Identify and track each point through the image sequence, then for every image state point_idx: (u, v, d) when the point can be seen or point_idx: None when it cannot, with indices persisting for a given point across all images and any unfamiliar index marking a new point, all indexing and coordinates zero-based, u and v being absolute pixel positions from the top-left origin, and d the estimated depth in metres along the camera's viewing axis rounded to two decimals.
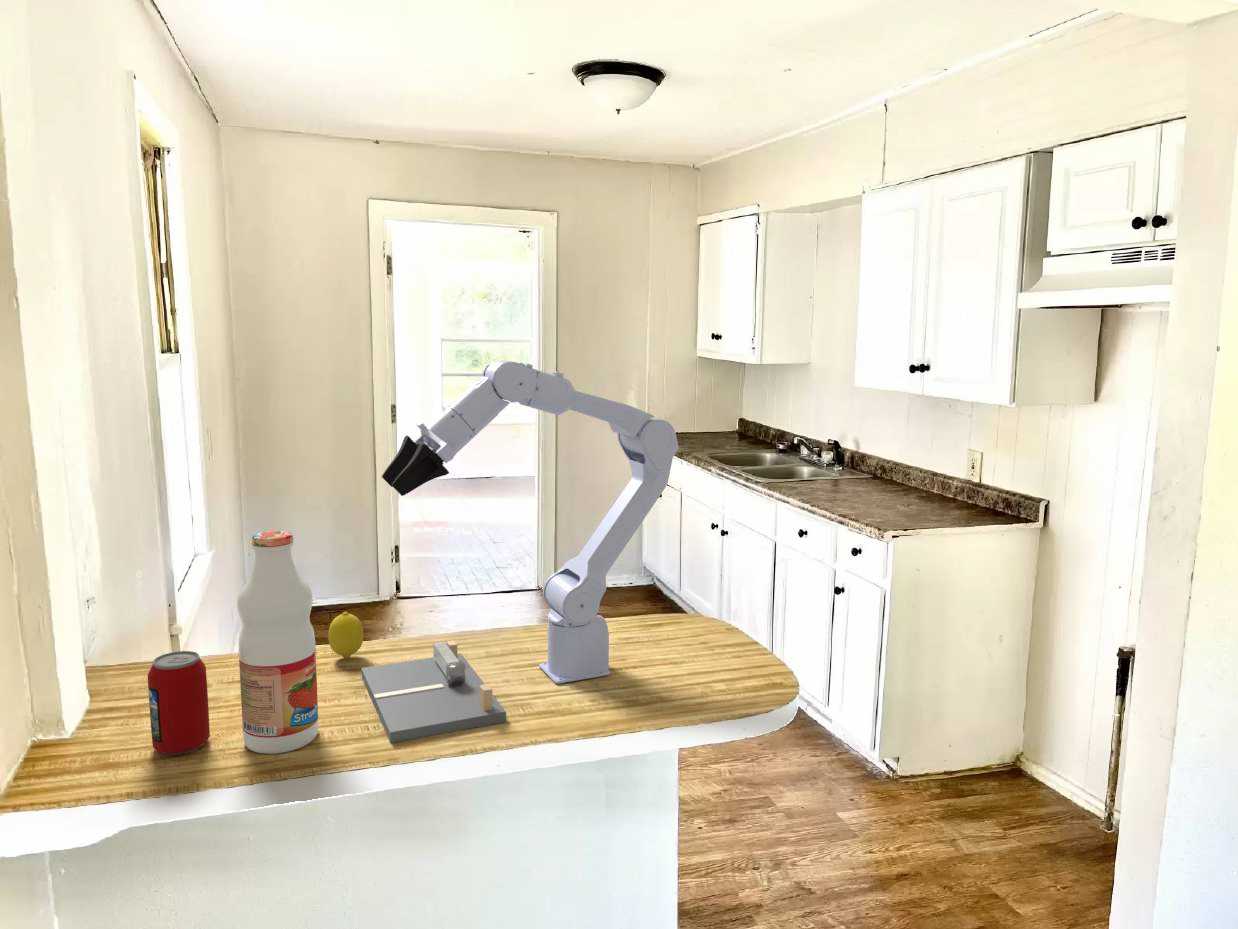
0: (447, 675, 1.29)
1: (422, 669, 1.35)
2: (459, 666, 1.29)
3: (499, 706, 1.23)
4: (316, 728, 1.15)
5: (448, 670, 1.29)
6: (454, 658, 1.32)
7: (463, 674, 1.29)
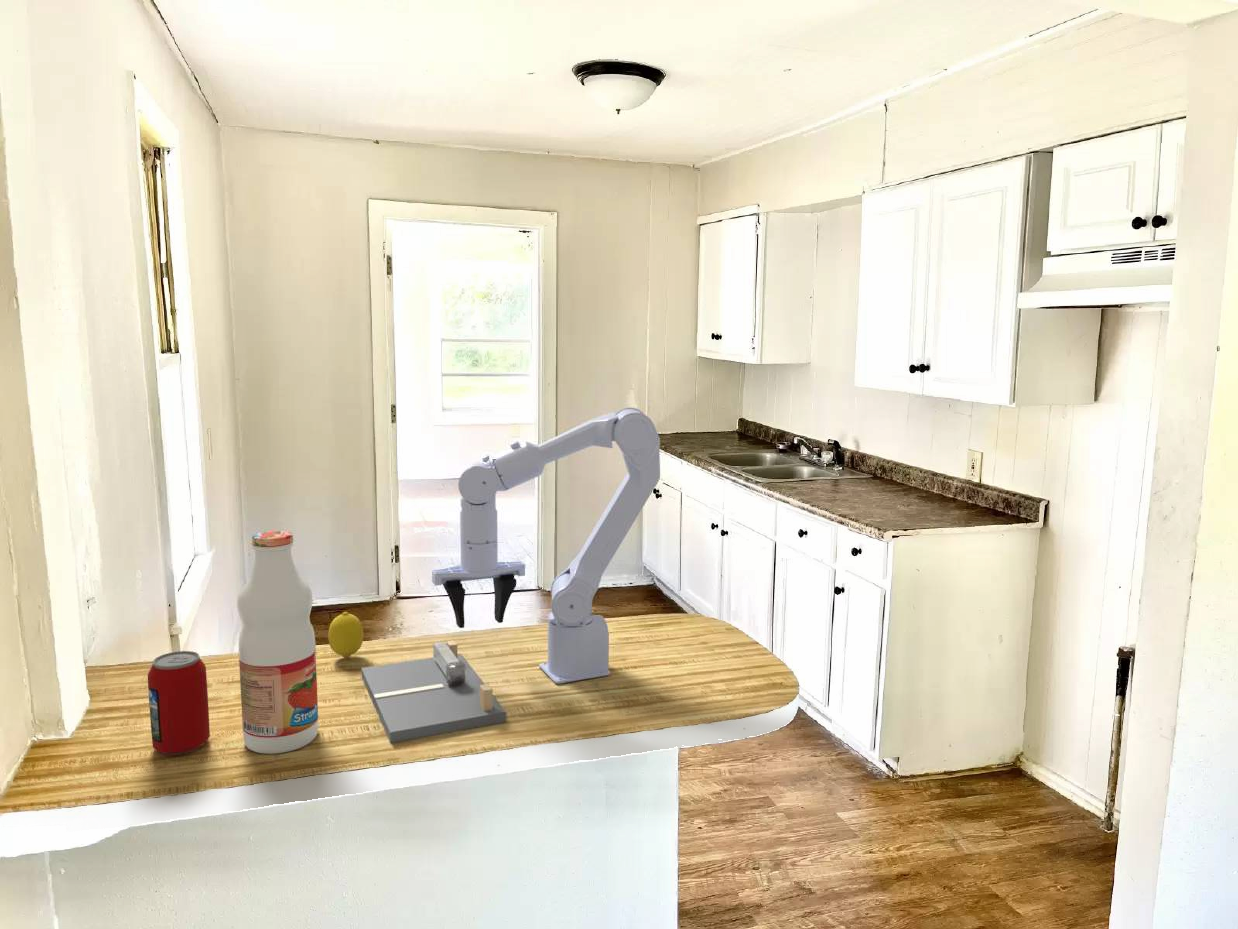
0: (447, 675, 1.29)
1: (422, 669, 1.35)
2: (459, 666, 1.29)
3: (499, 706, 1.23)
4: (316, 728, 1.15)
5: (448, 670, 1.29)
6: (454, 658, 1.32)
7: (463, 674, 1.29)
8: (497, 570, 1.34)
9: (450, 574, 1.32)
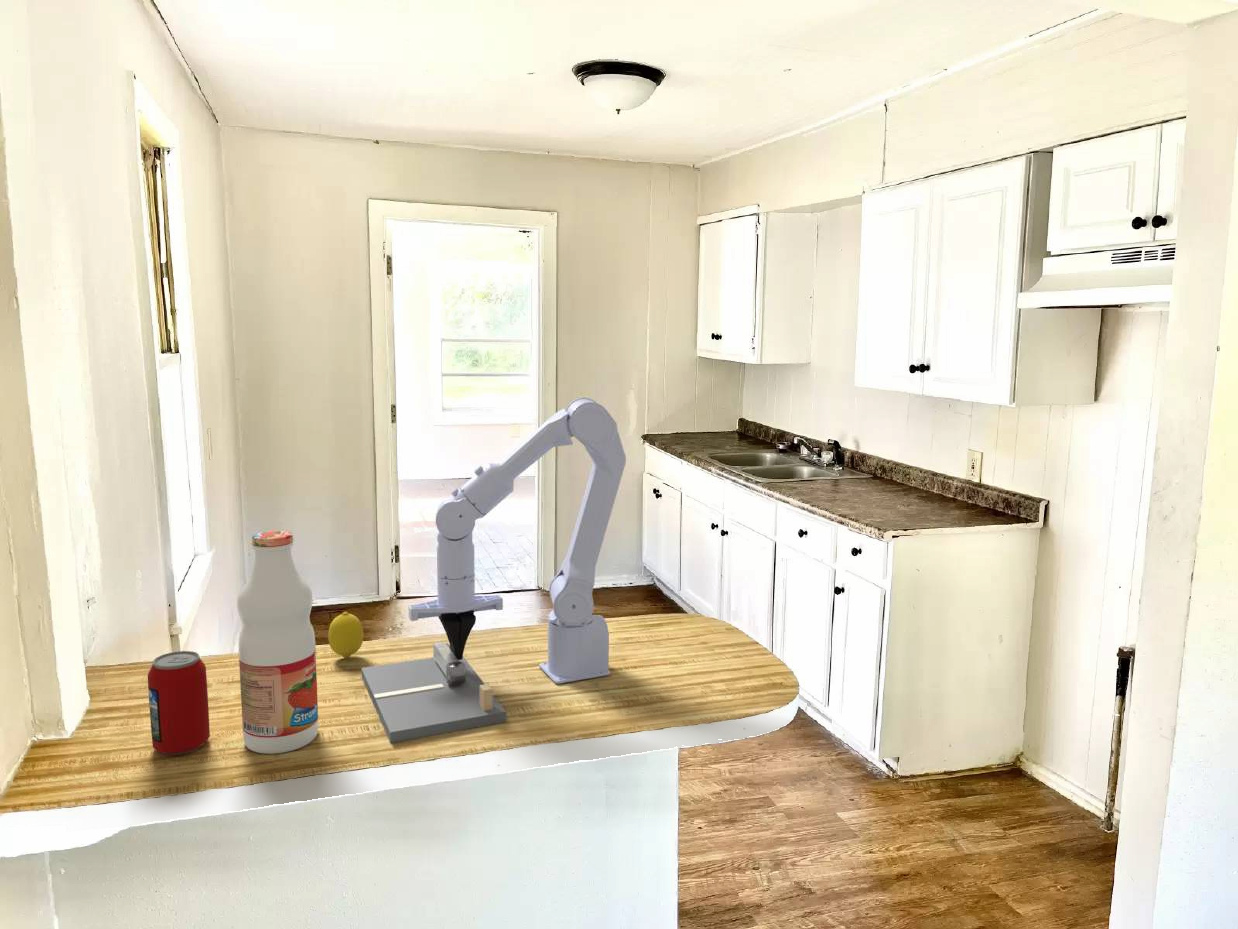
0: (447, 675, 1.29)
1: (422, 669, 1.35)
2: (459, 666, 1.29)
3: (499, 706, 1.23)
4: (316, 728, 1.15)
5: (448, 670, 1.29)
6: (454, 658, 1.32)
7: (463, 674, 1.29)
8: (474, 605, 1.33)
9: (426, 609, 1.31)
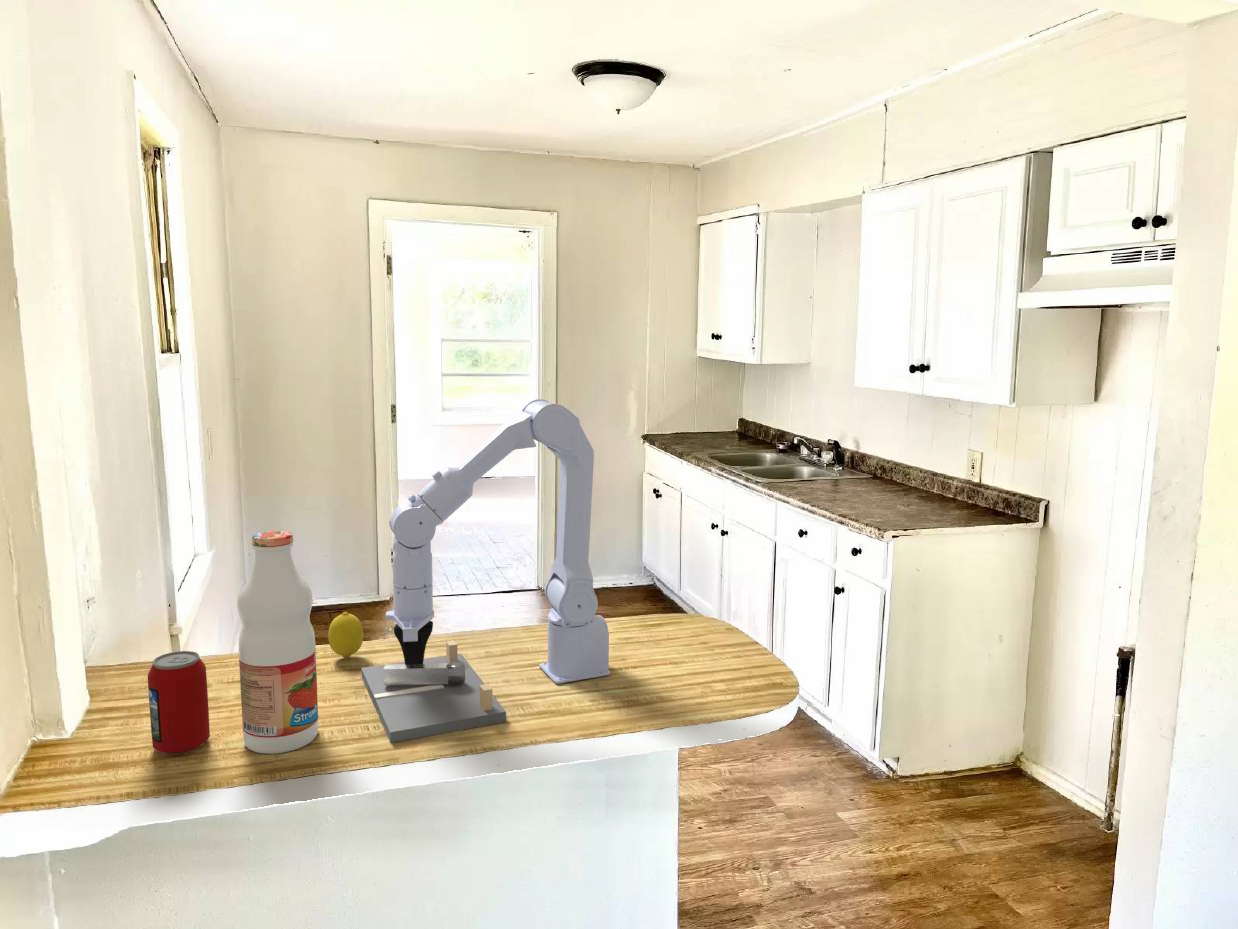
0: (456, 676, 1.28)
1: None
2: (459, 664, 1.30)
3: (499, 706, 1.23)
4: (316, 728, 1.15)
5: (459, 670, 1.28)
6: (437, 664, 1.30)
7: None
8: None
9: (421, 624, 1.25)
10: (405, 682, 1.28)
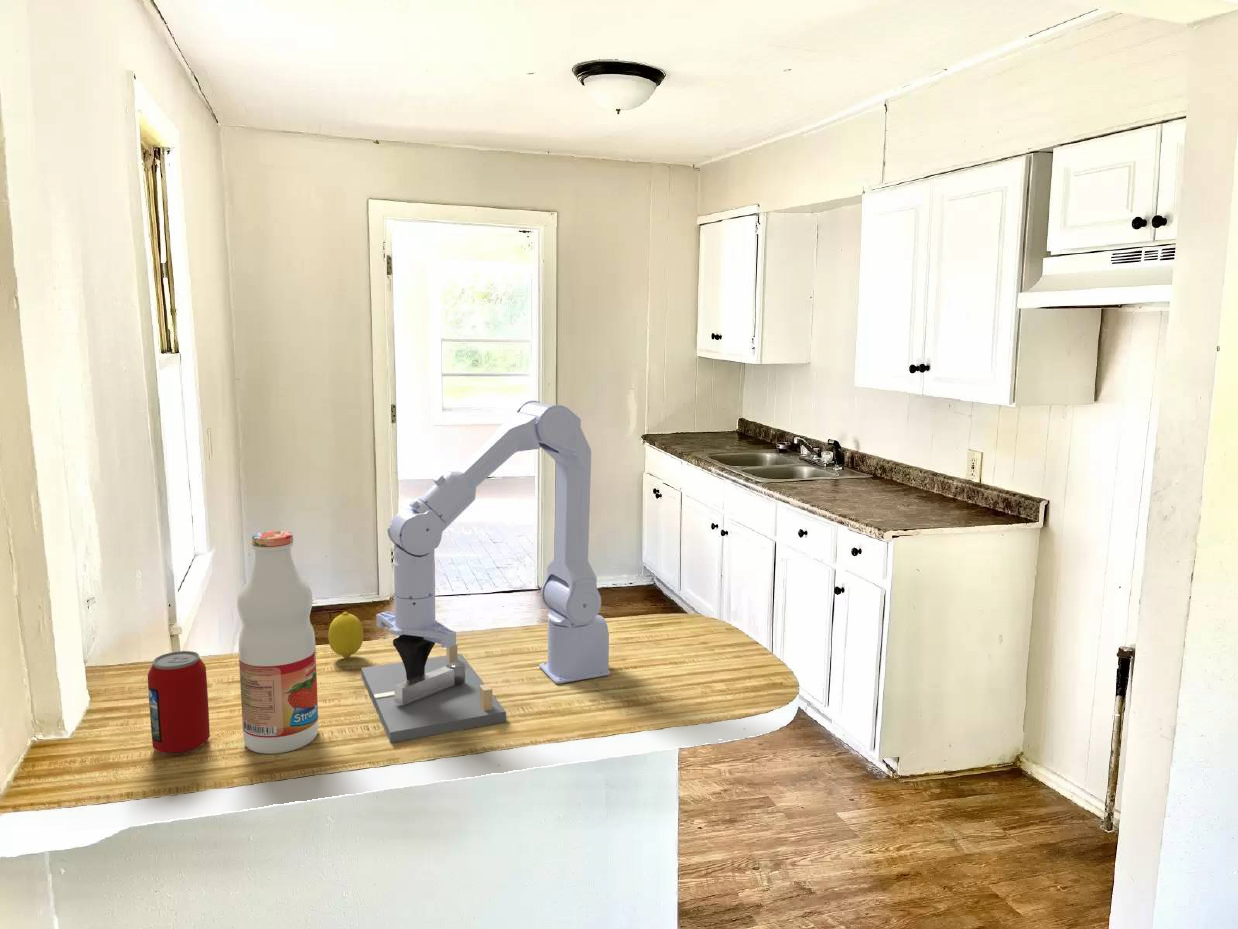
0: (463, 675, 1.29)
1: None
2: (456, 663, 1.30)
3: (499, 706, 1.23)
4: (316, 728, 1.15)
5: (464, 668, 1.29)
6: (438, 670, 1.28)
7: None
8: None
9: None
10: (420, 695, 1.24)
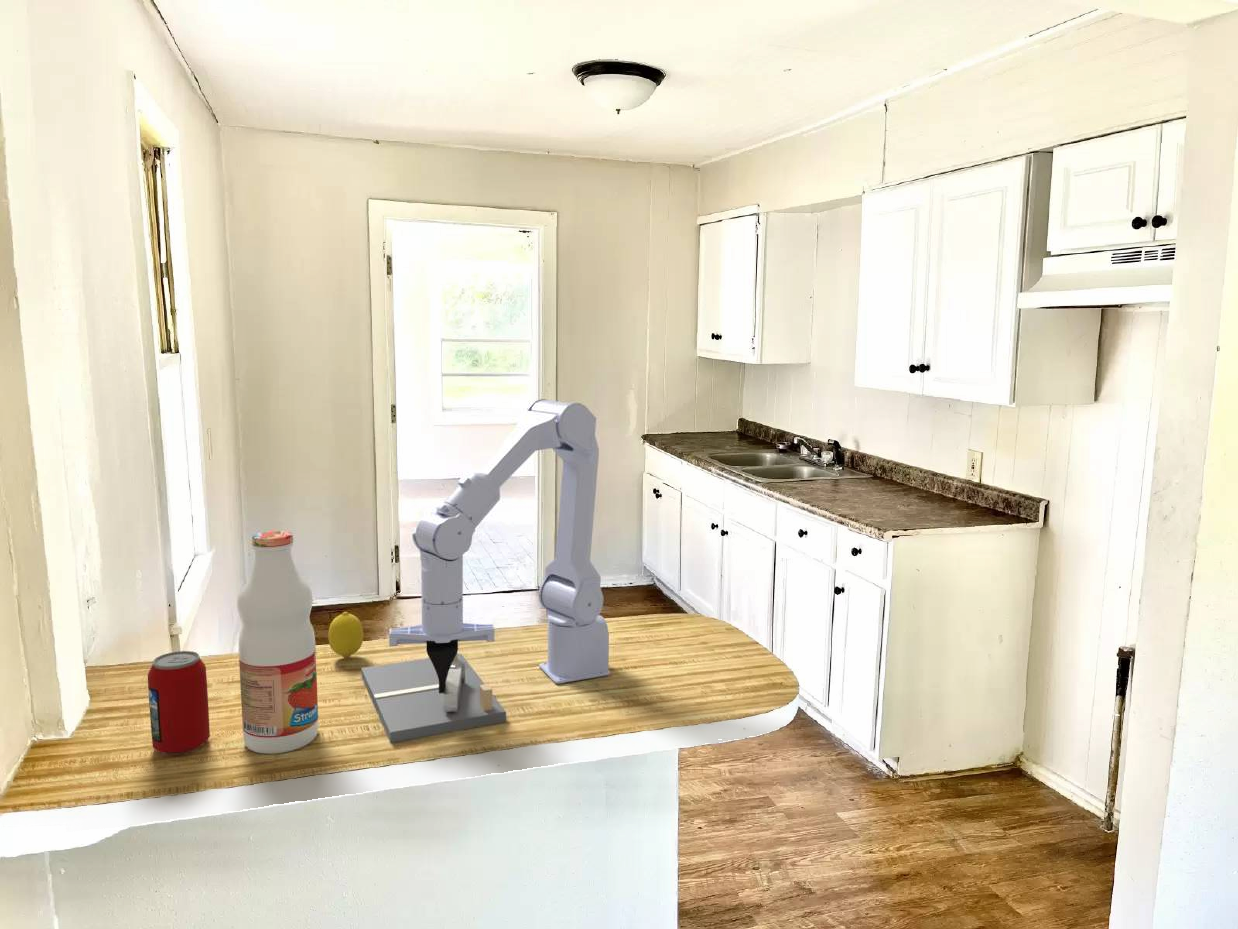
0: None
1: (422, 669, 1.35)
2: (453, 664, 1.30)
3: (499, 706, 1.23)
4: (316, 728, 1.15)
5: None
6: (450, 672, 1.27)
7: None
8: None
9: None
10: (458, 699, 1.23)
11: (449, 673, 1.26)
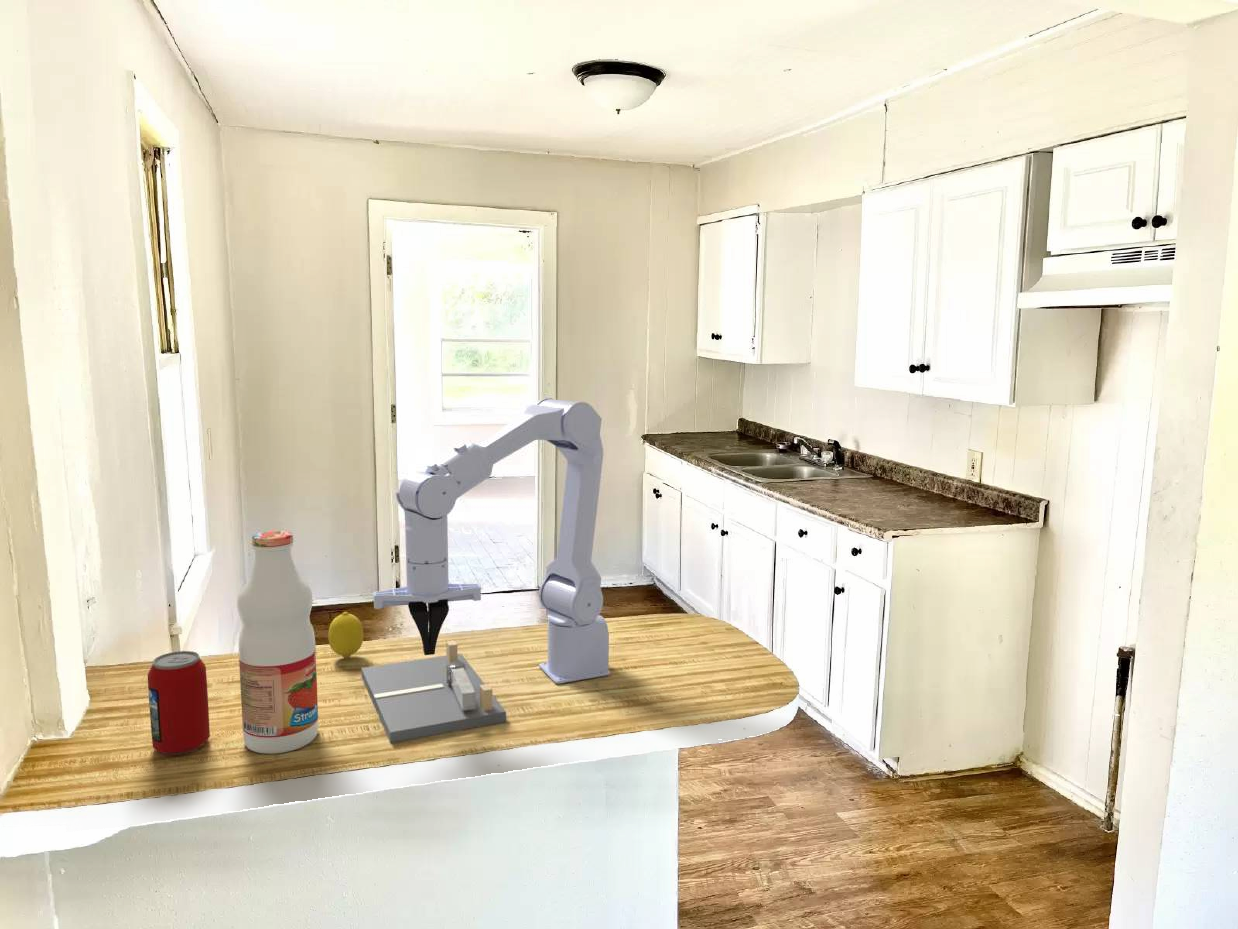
0: None
1: (422, 669, 1.35)
2: (452, 664, 1.30)
3: (499, 706, 1.23)
4: (316, 728, 1.15)
5: None
6: (455, 672, 1.27)
7: None
8: None
9: (462, 585, 1.23)
10: None
11: (454, 673, 1.26)
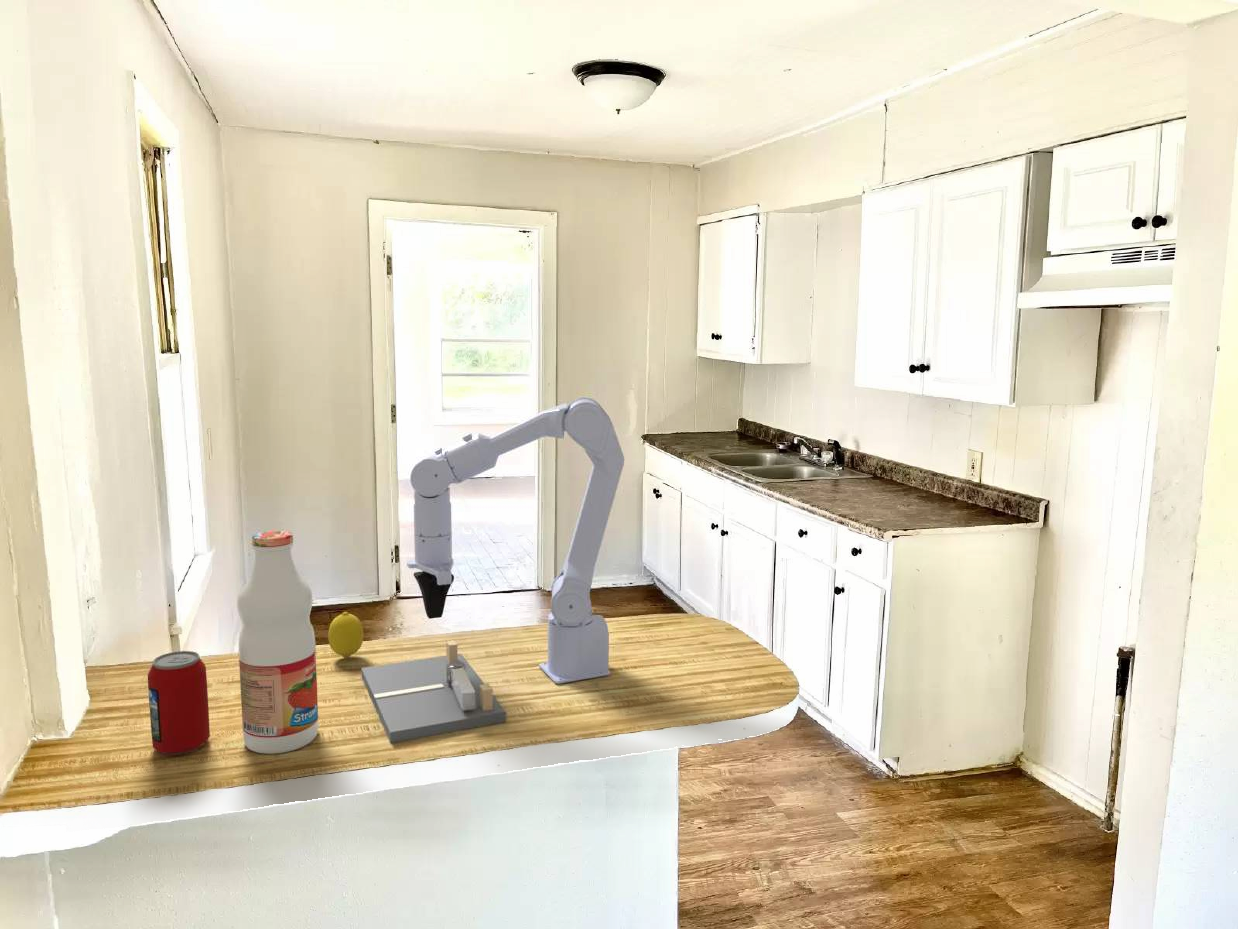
0: None
1: (422, 669, 1.35)
2: (452, 664, 1.30)
3: (499, 706, 1.23)
4: (316, 728, 1.15)
5: None
6: (455, 672, 1.27)
7: None
8: None
9: (450, 569, 1.31)
10: None
11: (454, 673, 1.26)
